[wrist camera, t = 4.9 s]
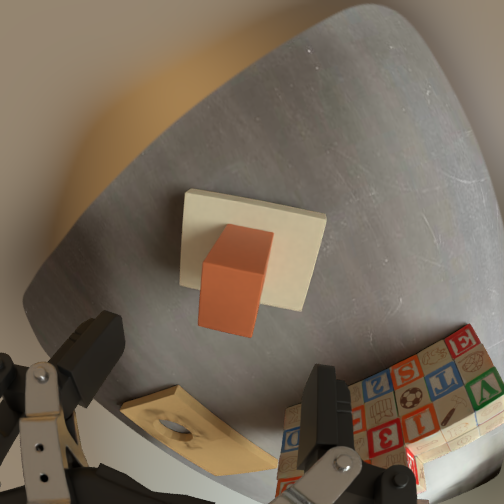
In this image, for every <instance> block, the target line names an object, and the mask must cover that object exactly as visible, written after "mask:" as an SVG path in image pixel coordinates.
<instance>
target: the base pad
mask: <svg viewBox="0 0 504 504" xmlns="http://www.w3.org/2000/svg"><path fill="white" fill-rule="evenodd" d="M120 411H121V412H122V413H123V414H125V415H126V416H127V417H128V418H130V419H131V420H132V421H133V422H135V423H136V424H137V425H139V426H140V427H141V428H143V429H144V430H145V431H146V432H147V433H149V434H150V435H152V436H153V437H154V438H156V439H157V440H159V441H161V442H162V443H163V444H165V445H166V446H168V447H169V448H171V449H172V450H174V451H175V452H177V453H178V454H180V455H182V456H183V457H185V458H186V459H188V460H189V461H191V462H193V463H194V464H196V465H198V466H199V467H201V468H203V469H204V470H206V471H208V472H210V473H211V474H213V475H215V476H222V475H232V474H241V473H249V472H256V471H262V470H269V469H274V468H277V464H278V460H277V459H276V458H274V457H273V456H271V455H270V454H268V453H266V452H265V451H263V450H262V449H261V448H259V447H258V446H256V445H255V444H253V443H252V442H250V441H249V440H248V439H246V438H245V437H243V436H242V435H241V434H239V433H238V432H236V431H235V430H234V429H232V428H231V427H230V426H229V425H227V424H226V423H225V422H223V421H222V420H221V419H219V418H218V417H217V416H215V415H214V414H213V413H212V412H210V411H209V410H208V409H207V408H205V407H204V406H203V405H202V404H200V403H199V402H198V401H197V400H196V399H194V398H193V397H192V396H191V395H190V394H188V393H187V392H186V391H185V390H184V389H183V388H181V387H180V386H179V385H177V386H174V387H171V388H168V389H165V390H162V391H159V392H156V393H153V394H150V395H147V396H144V397H141V398H138V399H135V400H131V401H128V402H125V403H123V405H122V407H121V409H120ZM160 419H161V420H168V421H172V422H175V423H177V424H179V425H182V426H184V427H185V428H186V429H188V430H189V431H190V432H191V433H189V434H185V433H179V432H175V431H173V430H171V429H169V428H167V427H165V426H164V425H162V424H161V423H160V421H159V420H160Z"/></svg>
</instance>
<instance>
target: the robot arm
mask: <svg viewBox="0 0 504 504" xmlns="http://www.w3.org/2000/svg"><path fill="white" fill-rule="evenodd" d="M124 348H125V337H124V330H123V323H122V317H121V316H120V315H118V314H115V313H112V312H109V311H106V310H104V311H102V312H101V313H100V314H99V315H98V316H97V318H96V319H93V318H91V319H89V320H87V321H85V322H83V323H82V324H81V325H80V326H79V327H78V328H77V329H76V330H75V332H74V333H73V334H72V335H71V336H70V337H69V339H67V340H66V341H65V343H64V344H63V345H62V346H61V347H60V348H59V350H58V351H57V352H56V353H55V354H54V355H53V357H52V358H51V359H50V360H49V361H48V362H38V363H35V364H33V365H32V366H30V367H25V366H20V365H15V364H14V363H13V361H12V359H11V357H10V356H9V355H8V354H6V353H0V398H1V397H3V400H2V402H1V403H0V466H1V464H2V462H3V460H4V458H5V456H6V455H7V453H8V451H9V449H10V448H11V446H12V444H13V442H14V441H15V439H16V437H17V436H18V434H19V432H20V446H21V457H22V467H23V475H24V482H25V485H24V486H21V487H17V488H14V489H10V490H6V491H3V492H0V504H215V502H210V501H206V500H203V499H199V498H195V497H191V496H188V495H181V494H170V493H160V492H153V491H151V490H149V489H147V488H146V487H144V486H143V485H141V484H140V483H138V482H137V481H135V480H134V479H132V478H131V477H129V476H128V475H126V474H124V473H122V472H119V471H117V470H115V469H113V468H110V467H108V466H106V465H104V464H102V463H100V465H99V467H98V468H95V467H89V466H88V463H87V460H86V458H85V456H84V453H83V450H82V447H81V442H80V436H79V431H78V425H77V419H76V413H75V408H76V406H77V405H78V404H79V405H80V406H82V407H84V408H87V407H88V406H89V404H90V402H91V401H92V399H93V398H94V396H95V395H96V393H97V392H98V390H99V389H100V387H101V386H102V384H103V382H104V381H105V379H106V378H107V376H108V375H109V373H110V372H111V370H112V369H113V367H114V366H115V364H116V363H117V361H118V360H119V359H120V357H121V356H122V354H123V352H124ZM351 413H352V406H351V395H350V390H349V388H348V387H347V385H346V383H345V381H341V380H336V375H335V367H334V366H328V365H322V364H315V365H314V367H313V370H312V372H311V374H310V377H309V379H308V381H307V383H306V386H305V388H304V391H303V396H302V404H301V420H300V434H299V446H298V458H297V469H296V470H304V475H303V476H302V477H301V478H299V479H298V480H297V481H296V482H295V483H294V484H293V485H292V486H290V487H289V488H288V489H286V490H285V491H283V492H282V493H281V494H280V495H278V496H277V497H276V498H275V499H274V500H272V501H271V502H270V503H269V504H417V488H416V477H415V475H414V473H413V471H412V470H411V469H410V468H408V467H407V466H404V465H399V464H398V465H392V466H390V467H389V468H387V469H384V468H381V467H377V466H374V465H371V464H369V463H366V462H365V461H363V460H362V459H361V457H360V456H359V454H358V453H357V452H356V451H355V447H354V434H353V419H352V414H351ZM0 487H1V483H0Z"/></svg>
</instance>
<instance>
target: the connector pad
mask: <svg viewBox="0 0 504 504" xmlns="http://www.w3.org/2000/svg"><path fill="white" fill-rule="evenodd" d="M326 221H327V219H326V215H325V214H323V213H318V212H314V211H309V210H304V209H300V208H295V207H290V206H285V205H280V204H275V203H270V202H265V201H260V200H255V199H249V198H244V197H239V196H233V195H228V194H222V193H216V192H210V191H205V190H199V189H192V188H191V189H190V190H188V191H187V192H185V199H184V212H183V226H182V242H181V261H180V285H181V286H185V287H189V288H193V289H197V290H200V299H199V314H198V326H201V327H205V328H209V329H214V330H218V331H222V332H226V333H231V334H235V335H240V336H244V337H249V338H251V337H252V335H253V330H254V326H255V322H256V317H257V313H258V308H259V304H265V305H270V306H275V307H280V308H285V309H290V310H295V311H300V312H301V311H302V307H303V304H304V301H305V297H306V294H307V291H308V287H309V284H310V280H311V277H312V273H313V270H314V266H315V263H316V259H317V255H318V252H319V248H320V244H321V241H322V237H323V233H324V229H325V225H326Z"/></svg>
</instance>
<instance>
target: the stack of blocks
mask: <svg viewBox="0 0 504 504" xmlns="http://www.w3.org/2000/svg"><path fill="white" fill-rule="evenodd" d="M348 388H349V390H350V395H351V406H352V413H351V414H352V419H353V434H354V447H355V451H356V452H357V453H358V454H359V456H360V457H361V459H362V460H363V461H365V462H366V463H369V464H371V465H374V466H377V467H381V468H384V469H387V468H389V467H390V466H392V465H398V464H399V465H404V466H407V467H408V468H410V469H411V470H412V471H413V473H414V475H415V477H416V488H417V494H419V493H422V492H425V491H426V482H425V475H424V467H423V464H425V463H427V462H429V461H432V460H434V459H436V458H439V457H441V456H443V455H445V454H447V453H449V452H452V451H454V450H457V449H459V448H461V447H463V446H465V445H467V444H468V443H470V442H472V441H474V440H476V439H478V438H480V437H481V436H483V435H485V434H486V433H488V432H490V431H492V430H493V429H495V428H497V427H499V426H500V425H502V424H503V423H504V383H503V381H502V379H501V377H500V375H499V373H498V371H497V369H496V367H495V366H494V365H493V363H492V361H491V359H490V357H489V355H488V353H487V351H486V349H485V348H484V346H483V344H482V343H481V342H480V340H479V338H478V336H477V334H476V332H475V331H474V329H473V327H472V326H471V324H470V323H469V324H467V325H466V326H464V327H463V328H461V329H460V330H458V331H457V332H455V333H453V334H452V335H450V336H449V337H447V338H445V339H444V340H440V341H439V342H437V343H435V344H433V345H431V346H430V347H428V348H426V349H424V350H422V351H421V352H419V353H418V354H416V355H413V356H411V357H409V358H407V359H405V360H403V361H401V362H399V363H397V364H395V365H393V366H391V367H390V368H389V369H386V370H384V371H382V372H380V373H377V374H375V375H373V376H371V377H369V378H366V379H364V380H363V381H360V382H358V383H355V384H353V385H350V386H348ZM301 404H302V403H301ZM301 404H298V405H295V406H292V407H289V408H287V409H286V410H285V420H284V432H283V440H282V448H281V455H280V458H279V465H278V472H277V480H278V483H277V489H276V495H275V498H276V497H277V496H278V495H280V494H281V493H282V492H283V491H285V490H286V489H288V488H289V487H290V486H292V485H293V484H294V483H295V482H296V481H297V480H298V479H299V478H301V477H302V476H303V475H304V470H296V469H297V458H298V446H299V434H300V420H301Z"/></svg>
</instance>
